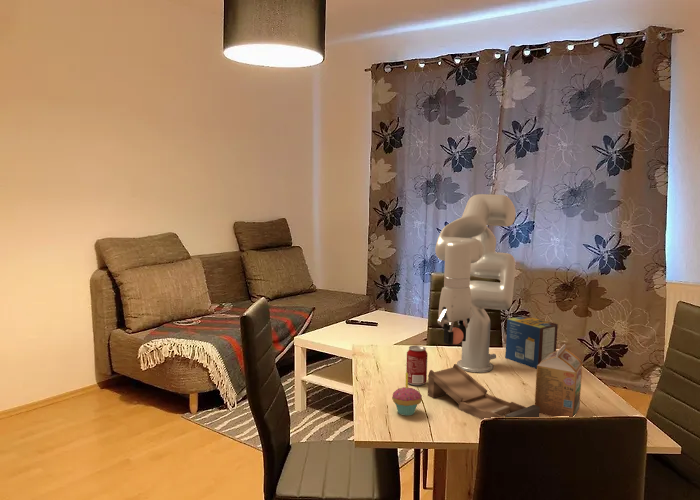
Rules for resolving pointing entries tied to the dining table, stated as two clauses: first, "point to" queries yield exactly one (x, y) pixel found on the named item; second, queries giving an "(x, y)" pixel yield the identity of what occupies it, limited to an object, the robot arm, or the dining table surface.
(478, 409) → the lane
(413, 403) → the cupcake
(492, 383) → the dining table surface
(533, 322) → the protein box
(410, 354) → the soda can
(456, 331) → the ball
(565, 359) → the milk carton
